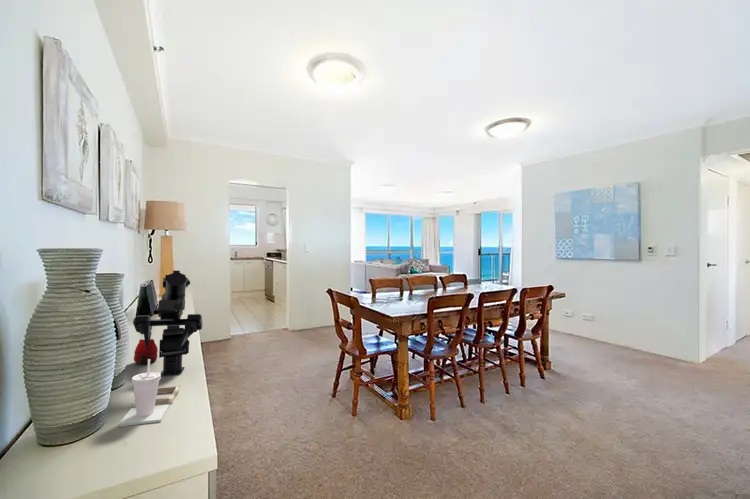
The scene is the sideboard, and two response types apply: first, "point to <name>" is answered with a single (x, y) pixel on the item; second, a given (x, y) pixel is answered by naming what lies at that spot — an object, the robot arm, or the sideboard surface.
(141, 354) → the red clay folk toy
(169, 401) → the frame
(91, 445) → the sideboard surface
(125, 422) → the mat
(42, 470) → the sideboard surface
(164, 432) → the sideboard surface
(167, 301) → the robot arm
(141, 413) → the smoothie
